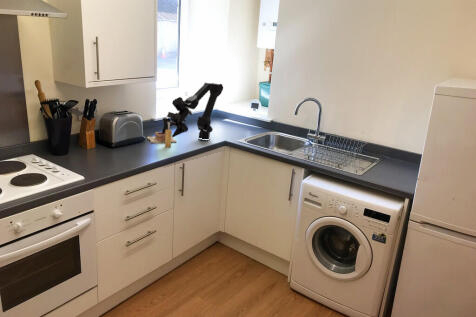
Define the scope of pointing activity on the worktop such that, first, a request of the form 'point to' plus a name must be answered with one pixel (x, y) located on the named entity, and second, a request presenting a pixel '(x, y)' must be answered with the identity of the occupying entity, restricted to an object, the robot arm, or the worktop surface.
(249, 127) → the worktop surface
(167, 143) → the orange tapered piece
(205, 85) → the robot arm
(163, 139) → the beige board with box
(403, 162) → the worktop surface
